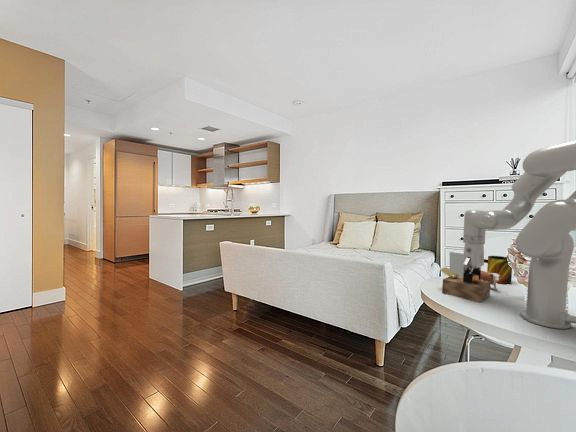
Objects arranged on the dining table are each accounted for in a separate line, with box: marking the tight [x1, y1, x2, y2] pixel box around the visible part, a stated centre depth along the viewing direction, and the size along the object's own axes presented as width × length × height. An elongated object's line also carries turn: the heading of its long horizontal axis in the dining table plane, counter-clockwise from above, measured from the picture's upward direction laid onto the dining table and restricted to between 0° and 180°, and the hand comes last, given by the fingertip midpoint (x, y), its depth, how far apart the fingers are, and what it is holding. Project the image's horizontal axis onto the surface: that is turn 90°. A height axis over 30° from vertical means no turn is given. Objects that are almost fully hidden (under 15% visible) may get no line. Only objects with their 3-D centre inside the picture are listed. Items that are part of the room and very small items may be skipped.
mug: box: [484, 255, 513, 286], centre depth 136 cm, size 10×14×12 cm
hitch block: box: [441, 276, 491, 304], centre depth 116 cm, size 14×12×6 cm
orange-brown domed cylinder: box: [472, 274, 479, 284], centre depth 115 cm, size 5×5×8 cm
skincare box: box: [449, 250, 471, 276], centre depth 135 cm, size 8×6×15 cm
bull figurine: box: [479, 269, 502, 291], centre depth 125 cm, size 4×13×8 cm, turn 2°
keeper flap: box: [440, 266, 458, 279], centre depth 121 cm, size 6×4×1 cm
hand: (471, 280), depth 115 cm, fingers open, 8 cm apart
